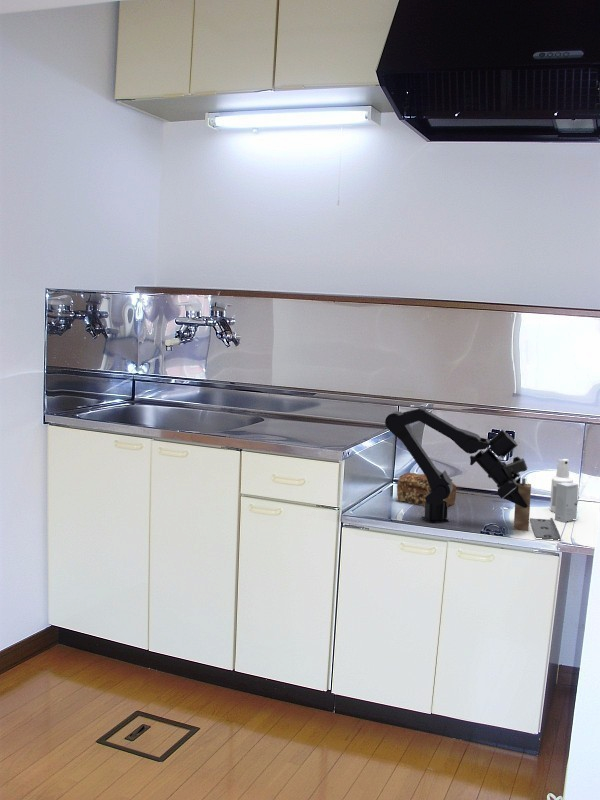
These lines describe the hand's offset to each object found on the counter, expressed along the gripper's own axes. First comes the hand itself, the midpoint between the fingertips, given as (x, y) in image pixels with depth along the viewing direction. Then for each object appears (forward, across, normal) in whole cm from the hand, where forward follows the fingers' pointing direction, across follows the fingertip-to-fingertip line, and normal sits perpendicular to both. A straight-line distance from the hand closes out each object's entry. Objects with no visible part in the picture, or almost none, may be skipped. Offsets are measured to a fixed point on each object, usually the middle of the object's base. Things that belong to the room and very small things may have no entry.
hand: (527, 504), depth 259 cm
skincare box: (+14, +17, -2) cm, 22 cm away
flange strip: (+10, +1, +2) cm, 10 cm away
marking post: (+5, 0, +7) cm, 8 cm away
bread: (-19, +23, +31) cm, 43 cm away
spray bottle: (+13, +29, -1) cm, 31 cm away
